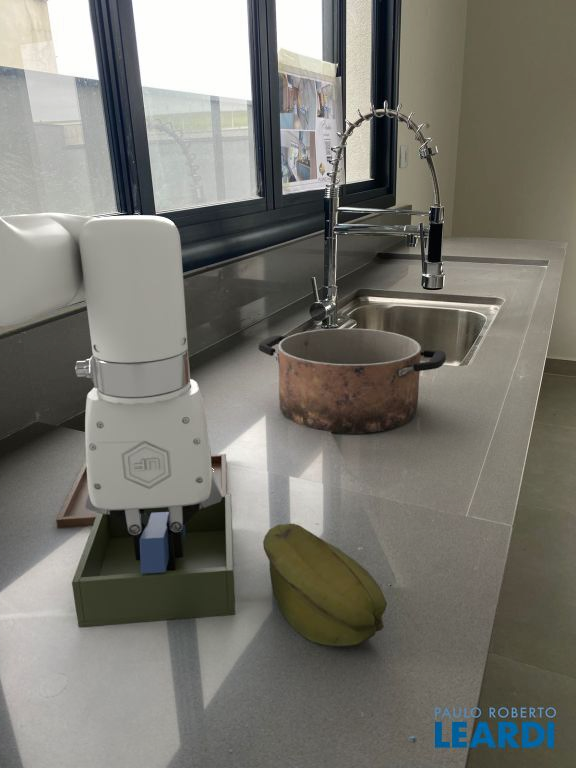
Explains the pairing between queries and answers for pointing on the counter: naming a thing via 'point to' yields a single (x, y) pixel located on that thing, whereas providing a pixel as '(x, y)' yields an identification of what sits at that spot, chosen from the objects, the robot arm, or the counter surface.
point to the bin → (157, 590)
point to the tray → (81, 517)
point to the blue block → (155, 544)
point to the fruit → (322, 588)
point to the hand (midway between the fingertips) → (161, 562)
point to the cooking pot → (349, 378)
